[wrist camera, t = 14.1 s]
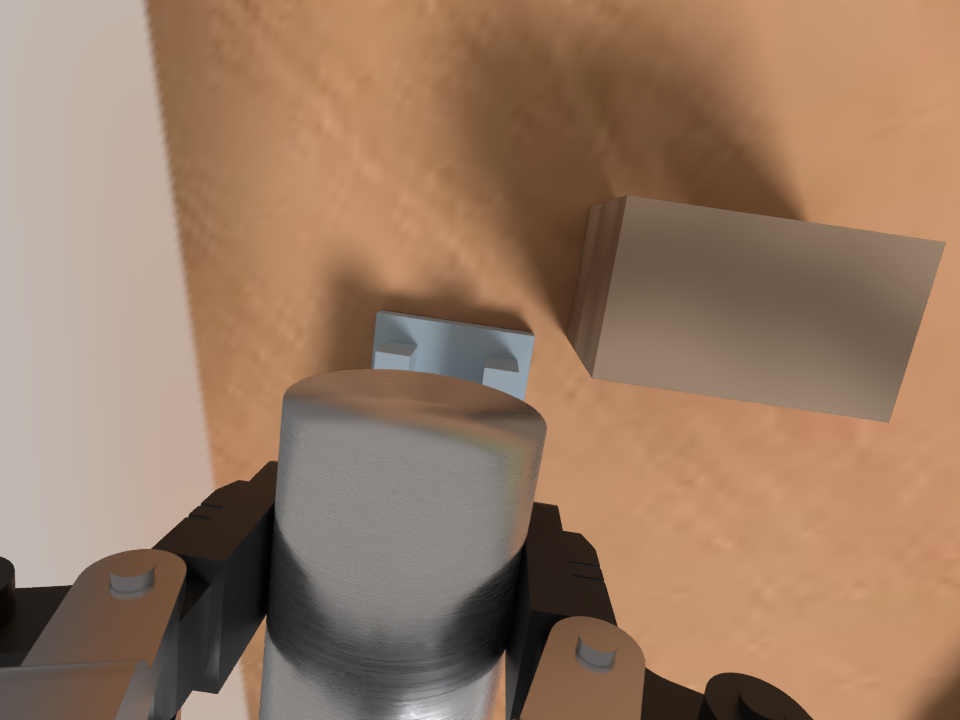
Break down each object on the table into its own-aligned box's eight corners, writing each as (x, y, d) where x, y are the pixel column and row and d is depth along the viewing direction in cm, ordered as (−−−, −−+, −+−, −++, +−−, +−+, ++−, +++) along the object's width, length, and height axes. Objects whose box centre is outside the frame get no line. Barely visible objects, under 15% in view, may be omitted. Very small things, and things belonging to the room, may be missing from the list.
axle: (454, 871, 15) (429, 1131, 11) (287, 841, 15) (195, 1085, 11) (541, 391, 12) (555, 480, 8) (332, 357, 12) (230, 427, 8)
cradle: (488, 602, 25) (486, 647, 22) (351, 582, 25) (333, 624, 22) (533, 332, 22) (538, 346, 20) (380, 310, 22) (364, 320, 20)
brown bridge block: (781, 369, 22) (888, 422, 16) (566, 337, 22) (591, 378, 16) (815, 239, 21) (945, 242, 15) (590, 206, 21) (627, 195, 15)
